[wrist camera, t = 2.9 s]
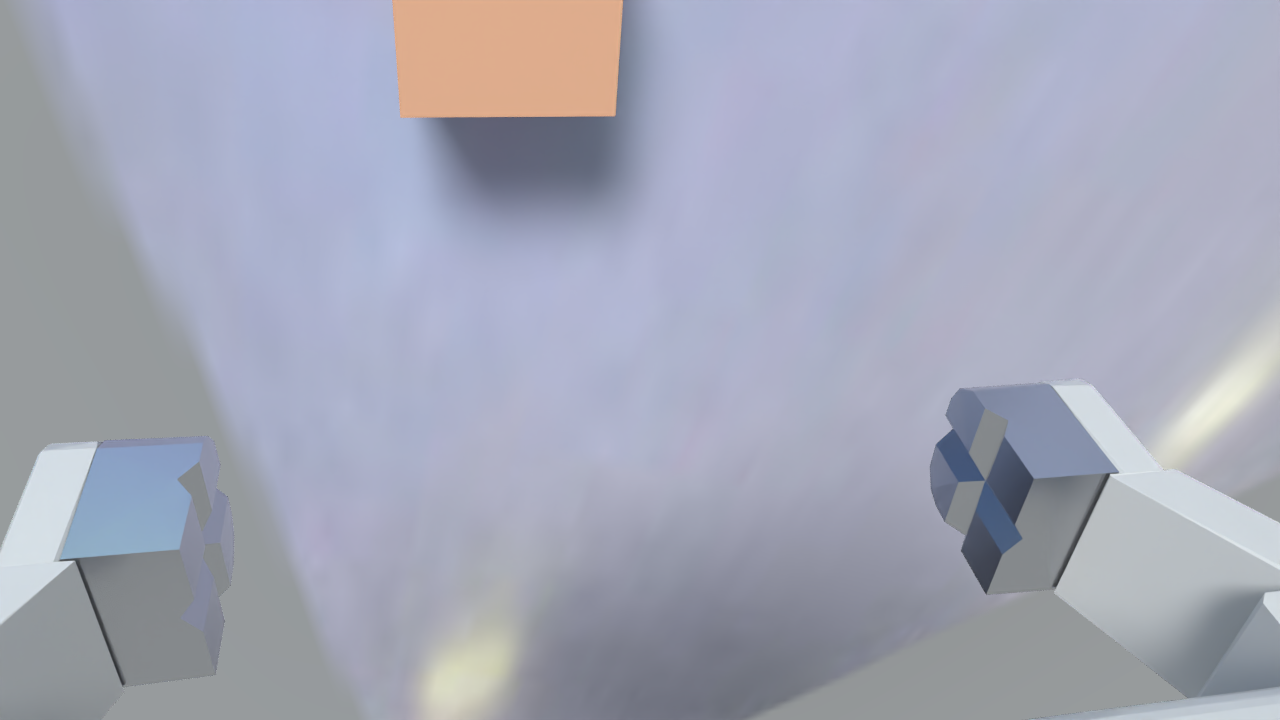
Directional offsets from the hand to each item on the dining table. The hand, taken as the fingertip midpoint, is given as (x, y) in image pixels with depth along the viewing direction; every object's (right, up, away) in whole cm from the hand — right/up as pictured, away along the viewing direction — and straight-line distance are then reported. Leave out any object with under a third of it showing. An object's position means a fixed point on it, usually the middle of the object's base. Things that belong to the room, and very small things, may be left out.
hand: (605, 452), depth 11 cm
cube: (-3, +12, +15) cm, 19 cm away
